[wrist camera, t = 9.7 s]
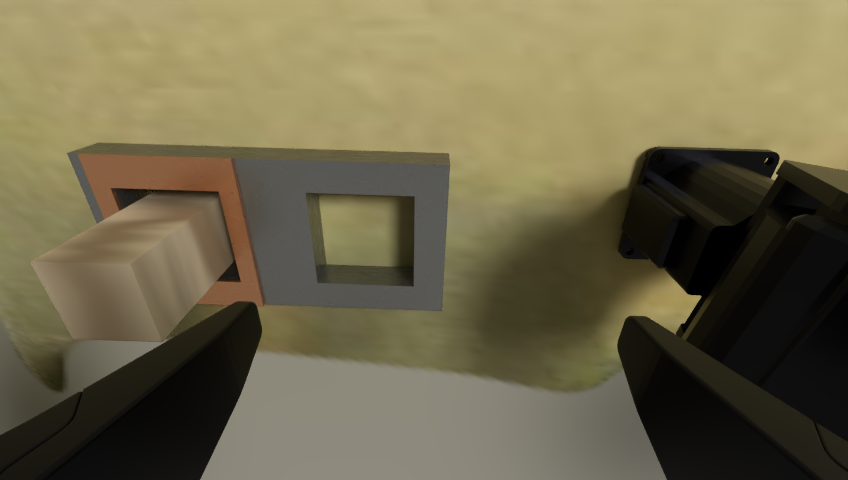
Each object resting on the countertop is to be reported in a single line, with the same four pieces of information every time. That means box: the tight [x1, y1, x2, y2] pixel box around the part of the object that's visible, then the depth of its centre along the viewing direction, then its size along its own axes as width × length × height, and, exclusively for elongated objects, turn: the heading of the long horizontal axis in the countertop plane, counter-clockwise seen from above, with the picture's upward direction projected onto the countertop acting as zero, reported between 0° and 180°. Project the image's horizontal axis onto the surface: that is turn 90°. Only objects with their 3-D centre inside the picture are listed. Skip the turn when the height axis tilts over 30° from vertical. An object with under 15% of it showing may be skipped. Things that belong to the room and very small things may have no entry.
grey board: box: [67, 143, 450, 311], centre depth 22 cm, size 19×9×2 cm, turn 89°
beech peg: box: [30, 189, 235, 342], centre depth 20 cm, size 4×4×8 cm
